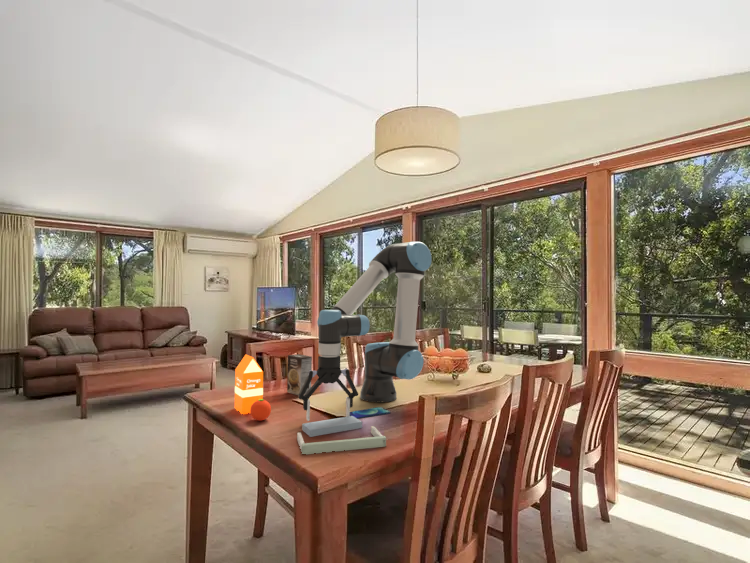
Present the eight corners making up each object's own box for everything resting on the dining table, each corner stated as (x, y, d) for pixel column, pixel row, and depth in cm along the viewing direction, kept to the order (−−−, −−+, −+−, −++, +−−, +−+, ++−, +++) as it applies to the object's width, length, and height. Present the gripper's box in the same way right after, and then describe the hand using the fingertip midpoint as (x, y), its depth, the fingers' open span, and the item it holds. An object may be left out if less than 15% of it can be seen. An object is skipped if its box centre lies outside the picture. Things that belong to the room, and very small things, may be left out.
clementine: (249, 417, 145) (249, 396, 145) (269, 415, 147) (269, 395, 147) (250, 424, 137) (251, 402, 137) (272, 422, 140) (272, 401, 140)
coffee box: (286, 392, 180) (287, 355, 181) (298, 389, 185) (298, 353, 185) (300, 396, 174) (300, 357, 175) (311, 393, 179) (312, 355, 180)
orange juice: (254, 405, 159) (255, 353, 160) (262, 411, 152) (264, 356, 153) (233, 408, 155) (235, 355, 155) (241, 414, 148) (242, 358, 148)
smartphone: (345, 412, 151) (380, 406, 159) (345, 414, 151) (380, 408, 159) (355, 418, 144) (391, 411, 152) (355, 420, 144) (391, 414, 152)
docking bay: (373, 432, 131) (374, 424, 131) (386, 446, 120) (386, 437, 120) (297, 439, 124) (297, 431, 124) (302, 454, 113) (302, 445, 113)
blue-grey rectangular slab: (352, 423, 142) (352, 415, 142) (362, 429, 136) (362, 421, 136) (302, 431, 133) (302, 423, 133) (310, 438, 127) (310, 430, 127)
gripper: (362, 352, 148) (360, 412, 148) (291, 354, 141) (289, 417, 141) (367, 356, 141) (366, 419, 141) (293, 358, 134) (291, 424, 133)
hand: (328, 418), depth 141 cm, fingers open, 13 cm apart
